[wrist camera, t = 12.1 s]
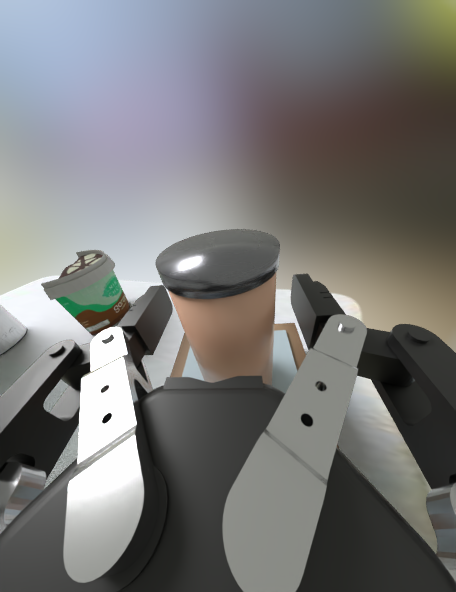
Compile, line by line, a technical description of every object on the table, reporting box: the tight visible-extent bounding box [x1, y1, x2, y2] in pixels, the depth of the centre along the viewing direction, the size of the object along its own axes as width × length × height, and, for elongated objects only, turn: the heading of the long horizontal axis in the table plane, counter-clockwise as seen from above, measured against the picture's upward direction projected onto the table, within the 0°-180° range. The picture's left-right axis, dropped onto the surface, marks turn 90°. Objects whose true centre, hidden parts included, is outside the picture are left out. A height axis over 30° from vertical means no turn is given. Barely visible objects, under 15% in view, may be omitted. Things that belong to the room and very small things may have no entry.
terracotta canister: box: [156, 229, 280, 386], centre depth 11 cm, size 5×5×11 cm
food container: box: [41, 250, 130, 335], centre depth 29 cm, size 12×6×10 cm, turn 18°
